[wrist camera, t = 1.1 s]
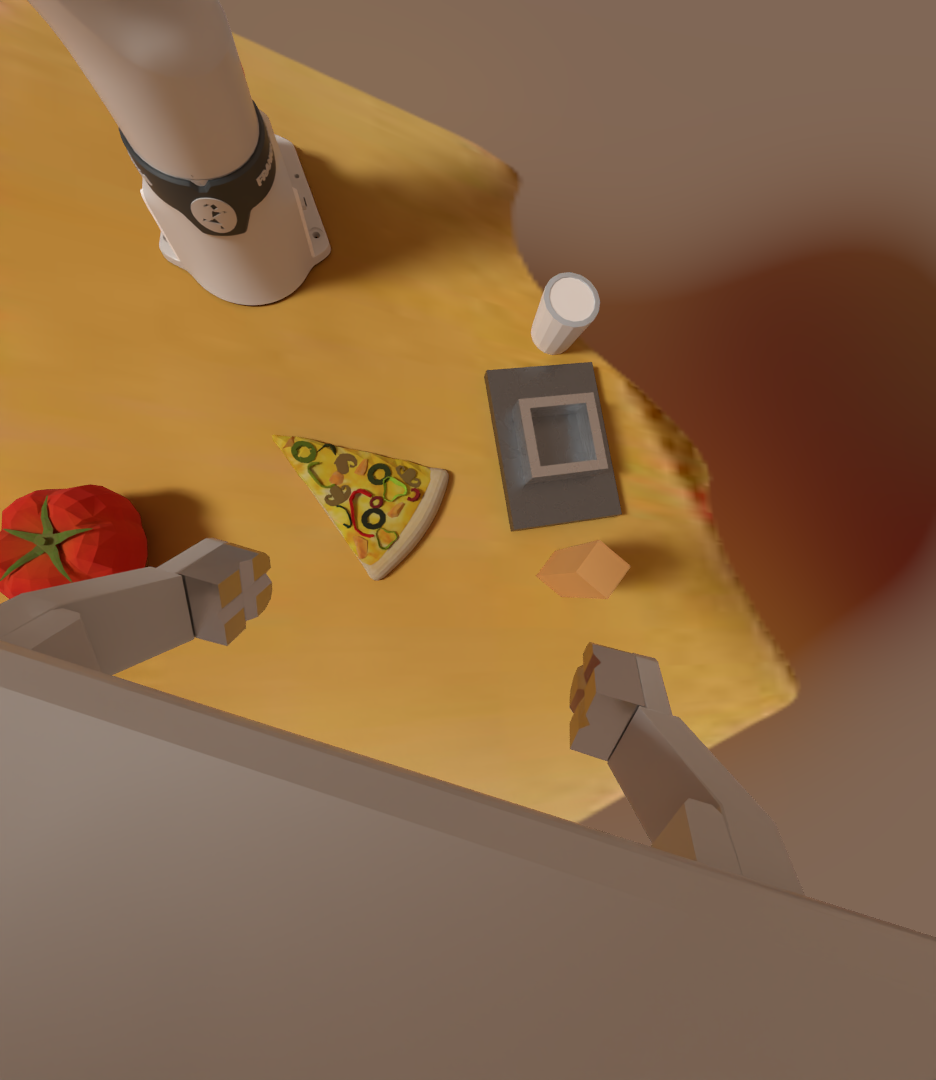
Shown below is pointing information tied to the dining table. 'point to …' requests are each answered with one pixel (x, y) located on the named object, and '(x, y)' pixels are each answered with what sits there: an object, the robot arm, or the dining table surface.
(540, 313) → the white tapered cup
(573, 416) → the square socket plate
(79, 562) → the tomato
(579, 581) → the orange rectangular block
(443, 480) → the pizza slice
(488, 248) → the dining table surface
